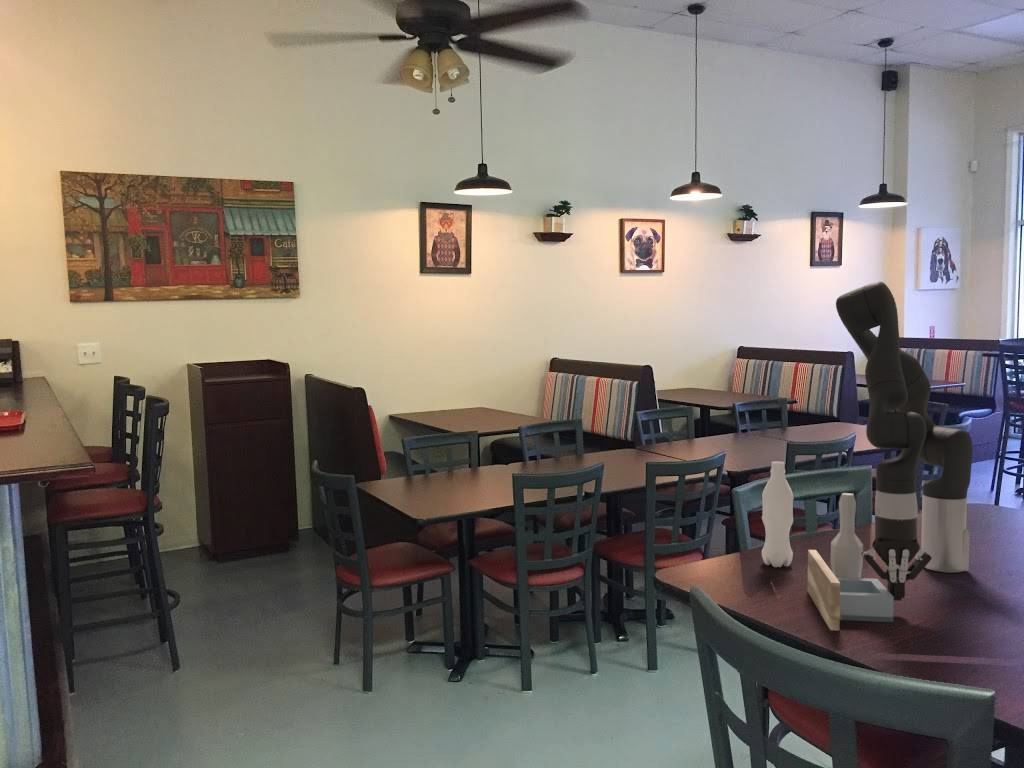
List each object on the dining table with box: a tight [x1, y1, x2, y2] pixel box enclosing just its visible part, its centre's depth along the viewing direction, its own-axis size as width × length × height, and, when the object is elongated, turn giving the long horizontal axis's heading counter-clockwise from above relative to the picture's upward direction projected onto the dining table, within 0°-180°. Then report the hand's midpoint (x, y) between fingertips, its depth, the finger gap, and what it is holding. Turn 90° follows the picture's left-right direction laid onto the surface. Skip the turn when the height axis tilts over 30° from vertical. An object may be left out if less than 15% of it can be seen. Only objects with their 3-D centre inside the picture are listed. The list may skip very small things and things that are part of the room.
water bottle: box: [761, 460, 794, 568], centre depth 195 cm, size 7×7×25 cm
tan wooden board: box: [807, 549, 841, 631], centre depth 161 cm, size 22×22×10 cm
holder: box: [836, 577, 894, 623], centre depth 161 cm, size 11×11×5 cm
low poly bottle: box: [830, 492, 864, 578], centre depth 172 cm, size 6×6×22 cm
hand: (895, 599), depth 160 cm, fingers closed
